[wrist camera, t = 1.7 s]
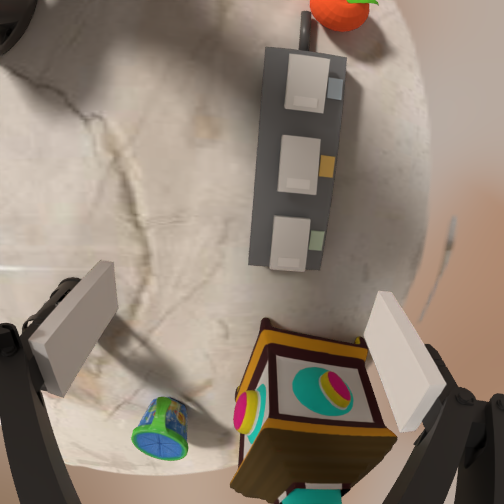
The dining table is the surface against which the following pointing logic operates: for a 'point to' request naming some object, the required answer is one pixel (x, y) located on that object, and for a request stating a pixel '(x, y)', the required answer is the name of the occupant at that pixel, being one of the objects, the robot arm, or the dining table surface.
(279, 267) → the rocker
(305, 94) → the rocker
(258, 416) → the decorative lantern
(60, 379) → the robot arm
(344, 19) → the clementine
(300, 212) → the power strip
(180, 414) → the snack cup
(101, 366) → the dining table surface
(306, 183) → the plate
